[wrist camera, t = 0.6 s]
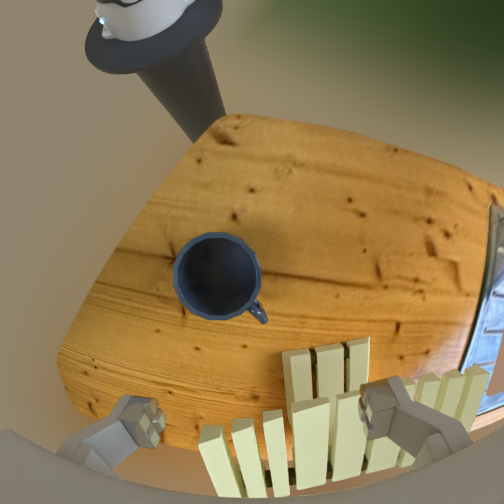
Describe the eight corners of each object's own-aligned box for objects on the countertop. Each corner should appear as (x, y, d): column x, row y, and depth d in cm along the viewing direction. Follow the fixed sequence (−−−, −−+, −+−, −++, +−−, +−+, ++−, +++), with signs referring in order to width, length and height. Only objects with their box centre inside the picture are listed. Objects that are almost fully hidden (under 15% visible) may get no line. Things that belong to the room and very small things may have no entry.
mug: (177, 265, 35) (155, 276, 25) (222, 220, 35) (217, 213, 25) (237, 325, 35) (238, 356, 25) (282, 282, 36) (299, 299, 26)
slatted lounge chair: (237, 435, 38) (229, 519, 20) (221, 357, 36) (197, 444, 19) (406, 403, 37) (453, 464, 19) (417, 324, 36) (489, 373, 18)
